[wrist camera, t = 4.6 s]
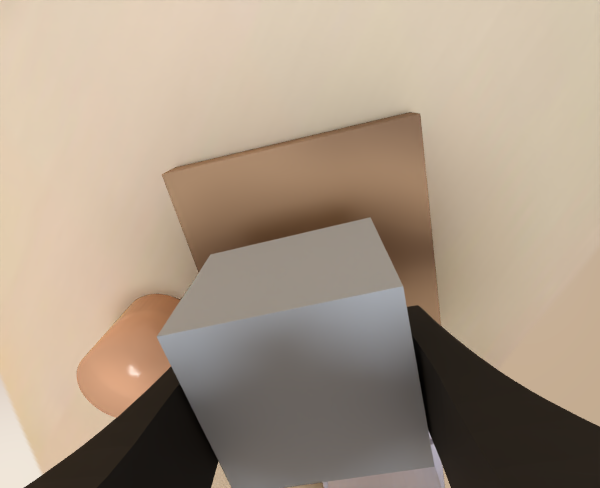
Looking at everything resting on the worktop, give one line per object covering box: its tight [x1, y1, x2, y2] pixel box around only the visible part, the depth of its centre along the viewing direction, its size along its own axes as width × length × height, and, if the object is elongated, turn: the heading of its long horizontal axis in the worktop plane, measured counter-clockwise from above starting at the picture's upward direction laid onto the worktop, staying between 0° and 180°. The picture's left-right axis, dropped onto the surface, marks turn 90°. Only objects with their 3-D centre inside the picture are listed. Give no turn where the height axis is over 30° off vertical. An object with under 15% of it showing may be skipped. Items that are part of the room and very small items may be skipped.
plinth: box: [162, 112, 441, 325], centre depth 17 cm, size 11×11×2 cm
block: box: [157, 217, 434, 488], centre depth 11 cm, size 6×6×4 cm
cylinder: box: [77, 294, 180, 418], centre depth 18 cm, size 4×4×4 cm
